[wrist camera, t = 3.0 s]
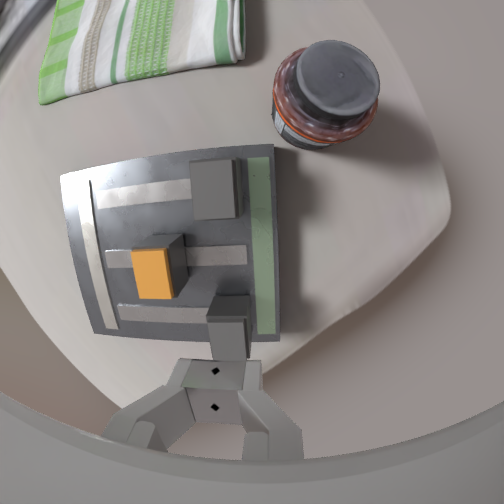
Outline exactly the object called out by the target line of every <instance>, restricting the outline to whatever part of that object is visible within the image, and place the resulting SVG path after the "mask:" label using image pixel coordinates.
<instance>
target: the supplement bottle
mask: <svg viewBox="0 0 504 504" xmlns="http://www.w3.org/2000/svg"><path fill="white" fill-rule="evenodd" d="M379 91H380V80H379V75H378V72H377V70H376V68H375V66H374V64H373V62H372V61H371V60H370V59H369V58H368V56H367V55H366V54H364V53H363V52H362V51H361V50H359V49H358V48H356V47H354V46H352V45H350V44H348V43H345V42H342V41H336V40H326V41H320V42H317V43H315V44H312V45H311V46H309V47H305V48H302V49H299V50H297V51H295V52H293V53H292V54H290V55H289V56H287V58H286V59H285V60H284V61H283V62H282V63H281V65H280V67H279V68H278V70H277V73H276V75H275V79H274V87H273V107H272V114H271V115H272V118H273V121H274V124H275V127H276V129H277V131H278V133H279V134H280V135H281V137H282V138H283V139H284V140H286V141H287V142H288V143H290V144H291V145H293V146H295V147H298V148H301V149H307V150H316V149H322V148H325V147H328V146H331V145H334V144H337V143H340V142H343V141H346V140H349V139H351V138H354V137H356V136H357V135H359V134H360V133H362V132H363V131H364V130H365V129H366V128H367V127H368V126H369V125H370V123H371V122H372V120H373V118H374V116H375V114H376V111H377V105H378V95H379Z"/></svg>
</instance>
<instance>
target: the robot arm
mask: <svg viewBox="0 0 504 504" xmlns="http://www.w3.org/2000/svg"><path fill="white" fill-rule="evenodd" d="M195 422H204V423H221V424H237V425H242V426H243V428H244V429H245V430H246V432H247V434H246V435H245V438H244V446H243V454H242V460H225V459H211V458H202V457H194V456H186V455H179V454H173V453H168V451H167V449H168V448H169V447H170V446H171V445H172V444H173V443H174V442H175V441H177V439H179V438H180V437H181V436H182V435H183V434H184V433H186V431H188V430H189V429H190V428H191V427H192V426H193V425H194V424H195ZM0 504H504V401H503V402H501V403H499V404H497V405H495V406H494V407H492V408H490V409H488V410H486V411H484V412H482V413H479V414H477V415H475V416H473V417H471V418H469V419H466V420H464V421H462V422H459V423H457V424H454V425H452V426H449V427H447V428H444V429H441V430H439V431H436V432H433V433H430V434H427V435H424V436H421V437H418V438H414V439H411V440H408V441H405V442H401V443H397V444H393V445H389V446H385V447H380V448H376V449H371V450H366V451H361V452H356V453H350V454H343V455H337V456H330V457H321V458H310V459H304V452H303V441H302V430H301V429H300V428H299V427H298V426H297V425H296V424H295V423H294V422H293V421H292V420H291V419H290V418H289V417H288V416H287V415H286V414H285V412H284V411H282V409H281V408H280V407H279V406H278V405H277V404H276V403H275V402H274V401H273V400H272V399H271V398H270V397H269V396H268V395H267V393H266V392H265V391H263V389H262V364H261V360H247V361H219V360H202V359H186V358H180V359H178V361H177V363H176V365H175V367H174V369H173V372H172V374H171V376H170V378H169V380H168V383H167V385H166V386H164V385H162V386H161V387H159V388H157V389H156V390H154V391H152V392H151V393H149V394H147V395H145V396H144V397H142V398H140V399H139V400H137V401H135V402H133V403H132V404H130V405H128V406H126V407H125V408H123V409H121V410H119V411H117V412H116V413H114V414H113V416H112V418H111V419H110V421H109V423H108V425H107V426H106V428H105V430H104V432H103V433H102V435H101V436H98V435H95V434H92V433H89V432H86V431H83V430H81V429H77V428H75V427H72V426H70V425H67V424H64V423H62V422H60V421H57V420H55V419H53V418H50V417H48V416H46V415H44V414H42V413H40V412H37V411H35V410H33V409H31V408H29V407H27V406H25V405H23V404H21V403H20V402H18V401H16V400H14V399H12V398H10V397H9V396H7V395H5V394H3V393H2V392H0Z"/></svg>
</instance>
